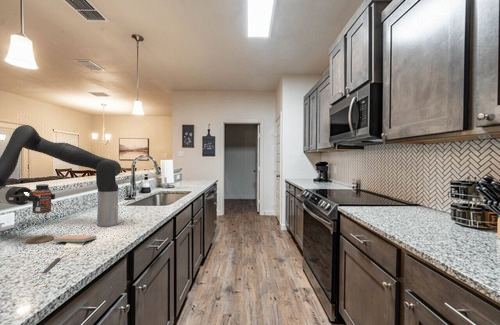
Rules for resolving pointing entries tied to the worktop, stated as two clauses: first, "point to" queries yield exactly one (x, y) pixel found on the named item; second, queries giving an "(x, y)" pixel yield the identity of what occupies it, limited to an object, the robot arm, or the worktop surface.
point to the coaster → (39, 239)
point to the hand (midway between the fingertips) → (46, 197)
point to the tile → (74, 238)
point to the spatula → (69, 244)
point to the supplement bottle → (42, 199)
